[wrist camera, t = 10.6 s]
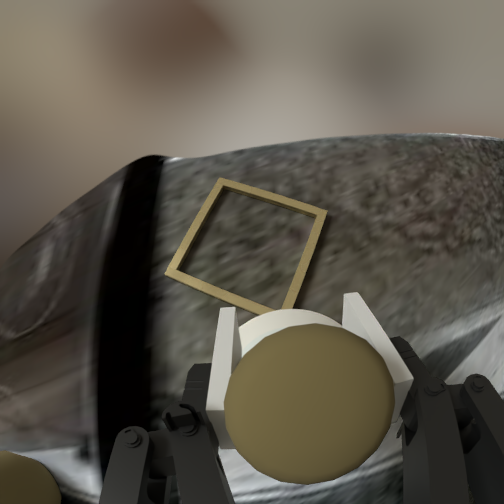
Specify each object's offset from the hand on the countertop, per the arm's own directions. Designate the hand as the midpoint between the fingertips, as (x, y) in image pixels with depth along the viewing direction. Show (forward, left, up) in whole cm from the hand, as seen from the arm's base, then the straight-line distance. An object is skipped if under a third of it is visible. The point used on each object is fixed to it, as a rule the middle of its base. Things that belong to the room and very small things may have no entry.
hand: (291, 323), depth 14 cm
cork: (-1, +3, -4) cm, 5 cm away
